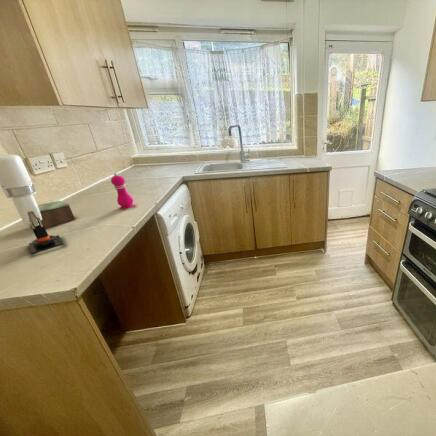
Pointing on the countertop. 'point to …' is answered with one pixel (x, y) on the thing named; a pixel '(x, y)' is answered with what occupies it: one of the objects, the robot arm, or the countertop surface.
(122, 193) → the pepper mill
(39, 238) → the lock button
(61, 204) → the frame lid
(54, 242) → the lock base
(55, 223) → the brown open box
